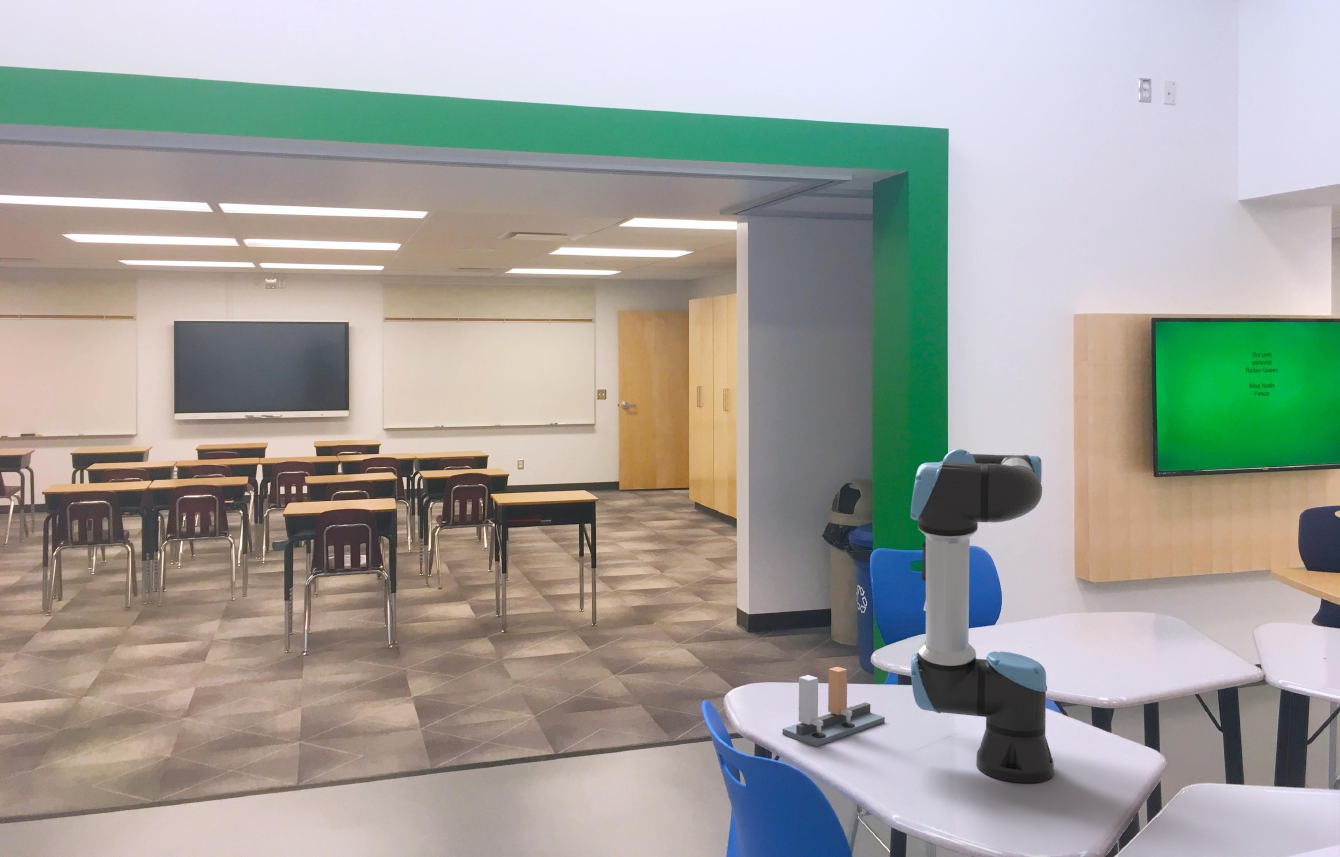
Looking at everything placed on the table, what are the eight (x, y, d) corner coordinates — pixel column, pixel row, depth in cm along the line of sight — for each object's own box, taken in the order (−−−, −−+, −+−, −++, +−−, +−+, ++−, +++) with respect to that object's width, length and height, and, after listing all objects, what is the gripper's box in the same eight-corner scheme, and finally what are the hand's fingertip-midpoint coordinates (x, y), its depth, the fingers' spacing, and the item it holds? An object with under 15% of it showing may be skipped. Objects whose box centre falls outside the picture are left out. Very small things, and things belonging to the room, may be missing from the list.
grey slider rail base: (851, 710, 243) (851, 655, 242) (884, 721, 235) (885, 665, 235) (782, 733, 228) (783, 674, 227) (816, 746, 220) (816, 685, 219)
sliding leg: (836, 714, 234) (837, 666, 234) (854, 720, 230) (855, 671, 230) (828, 717, 232) (828, 668, 232) (846, 723, 228) (846, 674, 228)
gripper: (982, 523, 241) (960, 619, 236) (941, 521, 252) (919, 612, 247) (962, 514, 238) (939, 611, 233) (921, 511, 249) (898, 604, 244)
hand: (929, 611), depth 240 cm, fingers closed
